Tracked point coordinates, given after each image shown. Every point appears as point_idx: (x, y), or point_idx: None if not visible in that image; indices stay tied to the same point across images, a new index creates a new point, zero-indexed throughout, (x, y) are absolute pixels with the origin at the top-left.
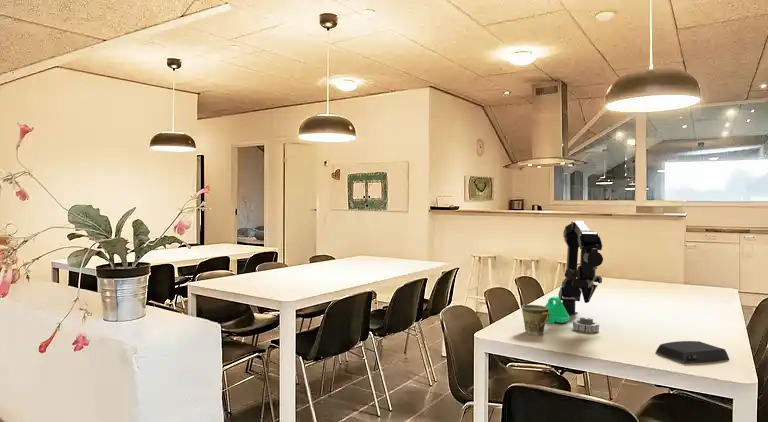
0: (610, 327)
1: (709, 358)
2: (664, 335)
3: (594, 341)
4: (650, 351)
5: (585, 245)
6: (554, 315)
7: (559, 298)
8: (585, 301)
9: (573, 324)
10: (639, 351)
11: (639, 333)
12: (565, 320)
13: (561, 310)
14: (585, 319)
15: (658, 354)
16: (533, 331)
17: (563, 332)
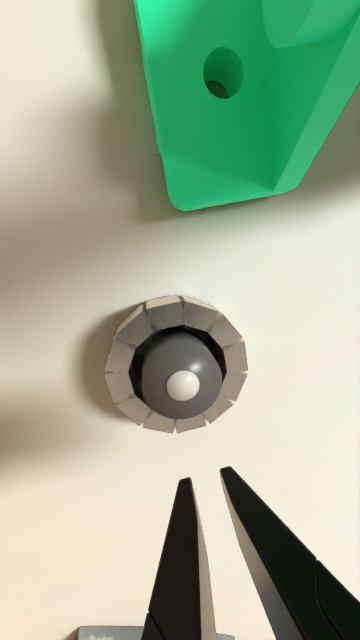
0: (316, 386)
1: None
2: (335, 531)
3: (15, 483)
4: (87, 612)
5: None
6: (239, 89)
7: None
8: (179, 501)
9: (130, 318)
10: (52, 604)
11: (300, 487)
12: (223, 203)
13: (293, 113)
14: (163, 390)
15: (76, 634)
16: None
17: (15, 322)
